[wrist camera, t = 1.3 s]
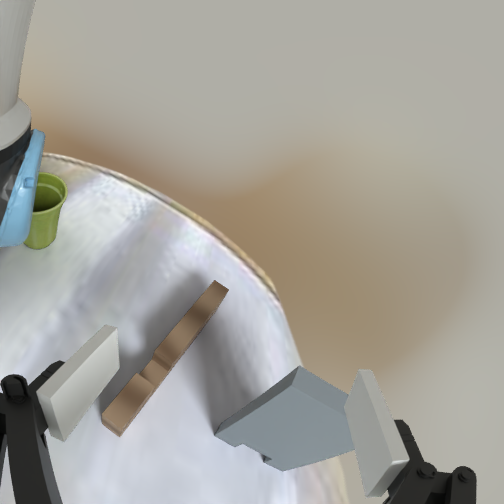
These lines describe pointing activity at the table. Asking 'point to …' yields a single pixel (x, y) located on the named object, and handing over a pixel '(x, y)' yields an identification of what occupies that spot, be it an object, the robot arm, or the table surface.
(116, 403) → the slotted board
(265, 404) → the slotted plate
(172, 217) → the table surface
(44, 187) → the plant pot
